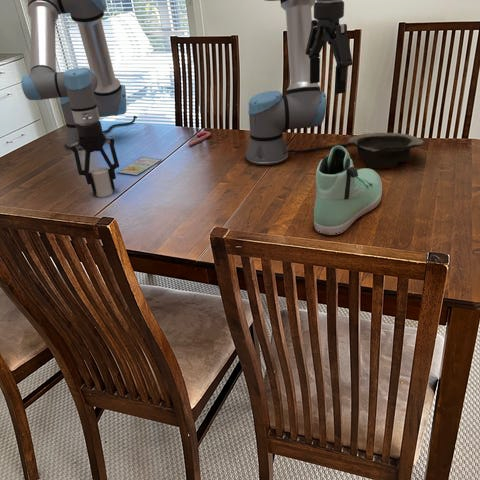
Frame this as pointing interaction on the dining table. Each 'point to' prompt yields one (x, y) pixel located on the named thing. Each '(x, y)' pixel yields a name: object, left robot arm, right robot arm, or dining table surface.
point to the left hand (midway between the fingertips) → (104, 190)
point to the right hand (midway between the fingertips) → (326, 87)
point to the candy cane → (206, 135)
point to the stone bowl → (384, 148)
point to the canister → (102, 182)
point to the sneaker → (343, 192)
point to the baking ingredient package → (138, 166)
